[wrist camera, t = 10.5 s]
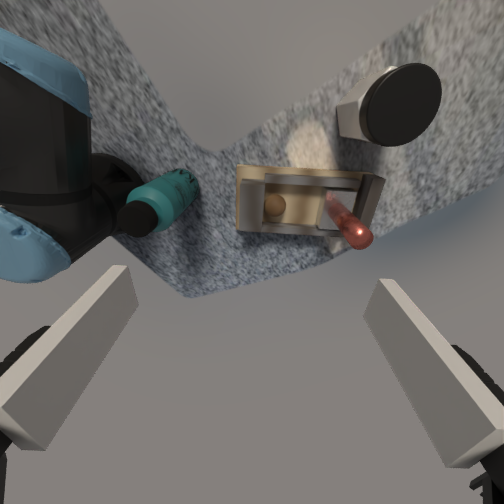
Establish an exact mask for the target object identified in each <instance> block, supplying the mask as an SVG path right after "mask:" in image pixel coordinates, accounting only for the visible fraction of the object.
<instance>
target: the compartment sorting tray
mask: <svg viewBox="0 0 504 504" xmlns="http://www.w3.org/2000/svg"><path fill="white" fill-rule="evenodd" d="M385 181H386V179H384V178H382V177H379V176H377V175H375V174H373V173H370V172H357V171H341V170H324V169H307V168H290V167H273V166H256V165H239V164H238V165H237V185H236V229H239V231H249V232H266V233H282V234H298V235H315V236H331V237H344V236H343V234H342V233H341V232H340V230H329V229H319V228H318V227H317V225H316V223H315V222H316V217H317V212H318V207H319V202H320V198H321V193H322V188H323V186H327V187H343V188H352V189H353V190H354V191H356V192H357V194H356V198H355V201H354V205H353V208H352V212H351V213H353V214H354V215H355V216H356V217H357V218H358V219H359V220H360V221H361V222H362V223H363V224H364V225H365V226H366V227H367V228H368V229H369V227H370V224H371V222H372V219H373V216H374V213H375V210H376V207H377V204H378V201H379V198H380V195H381V192H382V189H383V186H384V183H385ZM273 194H278V195H280V196H282V197H283V198H284V199H285V202H286V209H285V211H284V213H283V214H282V215H280V216H278V217H272V216H269V215H268V214H267V213H266V212H265V210H264V202H265V200H266V198H267V197H268V196H270V195H273Z"/></svg>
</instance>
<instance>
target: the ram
mask: <svg viewBox="0 0 504 504" xmlns="http://www.w3.org/2000/svg"><path fill="white" fill-rule="evenodd" d="M356 194H357V192H356V191H354V190H353V189H352V188H343V187H327V186H323V188H322V193H321V198H320V202H319V207H318V212H317V217H316V222H315V223H316V225H317V227H318V228H319V229H329V230H340V232H341V233H342V234H343V236H344V237H345V238H346V240H347V241H348V242H349V244H350V245H351V246H352V247H353V248H354V249H357V250H361V249H365V248H367V247H368V246H369V245H370V244H371V243H372V241H373V234H372V232H371V231H370V230H369V229H368V228H367V227H366V226H365V225H364V224H363V223H362V222H361V221H360V220H359V219H358V218H357V217H356V216H355V215H354V214H353V213H351V212H352V208H353V205H354V201H355V198H356Z"/></svg>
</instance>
